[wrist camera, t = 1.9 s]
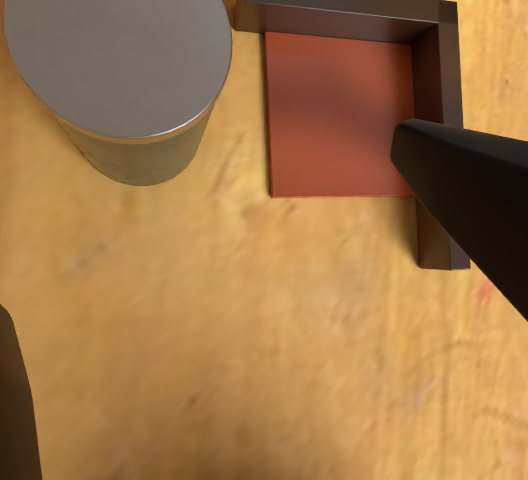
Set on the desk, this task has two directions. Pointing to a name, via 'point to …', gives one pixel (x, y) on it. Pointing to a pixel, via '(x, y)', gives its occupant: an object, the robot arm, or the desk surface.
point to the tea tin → (125, 76)
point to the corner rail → (356, 96)
